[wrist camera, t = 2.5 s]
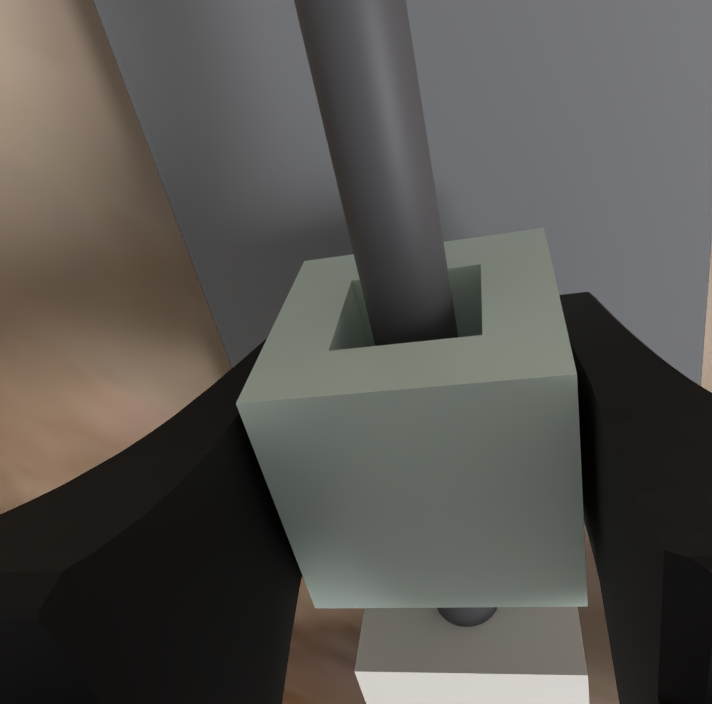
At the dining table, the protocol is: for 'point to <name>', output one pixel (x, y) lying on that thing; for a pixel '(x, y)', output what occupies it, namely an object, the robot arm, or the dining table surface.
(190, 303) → the dining table surface
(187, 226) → the cord rig
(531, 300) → the marker sleeve
